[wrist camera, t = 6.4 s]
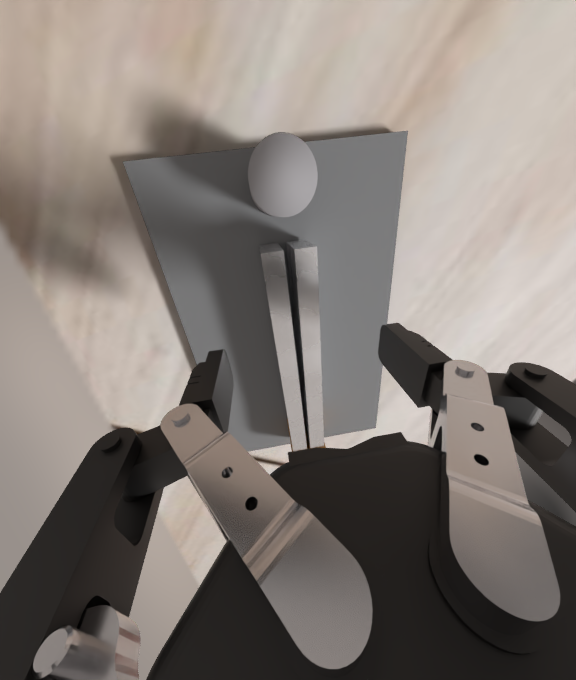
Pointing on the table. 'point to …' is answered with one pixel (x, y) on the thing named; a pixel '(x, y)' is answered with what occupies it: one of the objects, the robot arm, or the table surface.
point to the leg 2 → (307, 335)
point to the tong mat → (280, 227)
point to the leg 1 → (284, 339)
